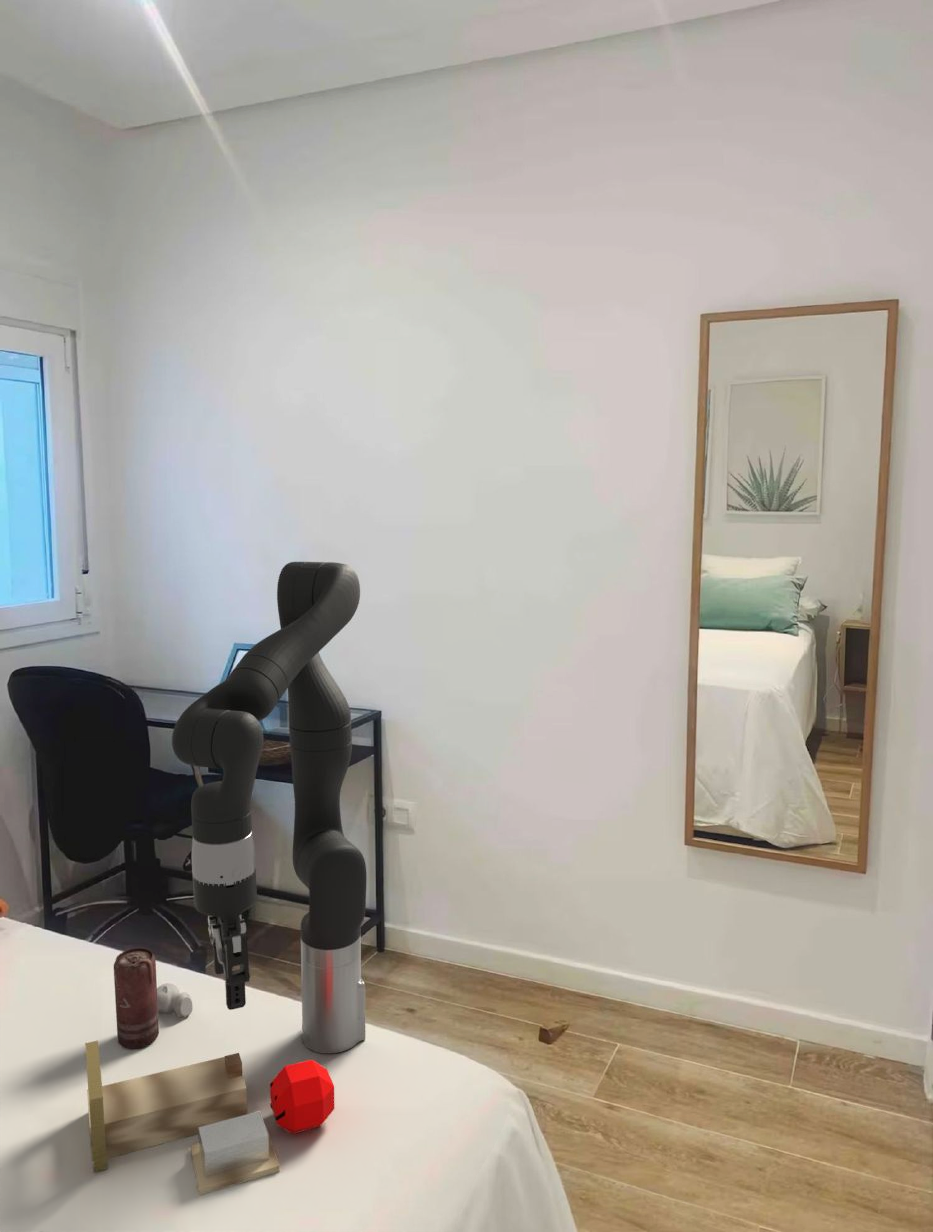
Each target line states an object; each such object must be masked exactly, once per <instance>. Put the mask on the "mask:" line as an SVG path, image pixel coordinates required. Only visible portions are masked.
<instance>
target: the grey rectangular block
mask: <svg viewBox="0 0 933 1232" xmlns="http://www.w3.org/2000/svg"><path fill="white" fill-rule="evenodd" d="M265 1126H266V1125H265V1122H264V1119H263V1115H262V1113H261V1110H258V1111H257V1110H256V1111H253V1112H250V1113H247V1114H246V1115H243V1116H239V1117H235V1118H232V1119H228V1120H224V1121H221V1122H217V1123H213V1124H210V1125H206V1126H202V1127H198V1129H199V1134H198V1144H199V1152H200V1156H201V1160H202V1165H203V1169H204V1173H205V1178H207V1177H211V1176H214V1175H218V1174H221V1173H224V1172H228V1171H231V1170H235V1169H238V1168H241V1167H245V1166H248V1165H252V1164H255V1163H259V1162H262V1161H265V1160H269V1142H268V1133H267V1130H266V1127H265Z"/></svg>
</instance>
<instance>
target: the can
mask: <svg viewBox="0 0 933 1232" xmlns="http://www.w3.org/2000/svg"><path fill="white" fill-rule="evenodd" d="M156 962H157V960H156V957H155V955H154V954H153V951H151V950H150V949H148V948H145V947H136V948H131V949H127V950H125V951H122V952H121V953H119V954H118V955H117V956H116V958H115V961H114V963H113V979H114V997H115V1017H116V1018H115V1019H116V1032H117V1034H116V1035H117V1042H118V1044H119V1045H120V1046H121V1047H122V1048H124V1049H126V1050H133V1051H134V1050H139V1049H140V1050H141V1049H144V1048H146V1047H149V1046H150V1045H152V1044H153V1043H154V1042H155V1041H156V1040H157V1038H158V1036H159V1033H160V1026H159V1024H160V1023H159V1013H158V1002H157V988H158V986H157V985H158V983H157V967H156V966H157V963H156Z"/></svg>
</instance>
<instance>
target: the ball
mask: <svg viewBox="0 0 933 1232" xmlns="http://www.w3.org/2000/svg"><path fill="white" fill-rule="evenodd" d="M269 1095H270V1096H269V1099H270V1104H269V1105H270V1109H271V1111H272V1114H273V1116H274V1119H275V1124H276V1125H277V1126H279V1127H280V1128H282V1129H283V1130H285V1131H286V1132H288V1133H290V1134H292V1135H293V1134H296V1133H300V1132H304V1131H308V1130H312V1129H315V1128H319V1127H321V1126H322V1125H323V1124H324V1122H325V1121H326V1120H327V1119H328V1117H329V1116H330V1115H331V1114H332V1112H333V1111H334V1110H335V1084H334V1082H333V1080H332V1078H331V1075H330V1073H329V1071H328V1069H327V1068H325V1067H324V1066H323V1065H321V1064H320V1063H318V1062H317V1061H315V1060H314V1059H309V1060H304V1061H300V1062H296V1063H292V1064H288V1065H284V1066H283V1068H281V1070H280V1071H279V1072H278V1073H277V1075H275V1077H274V1078H273V1079H272V1080H271V1082H270V1083H269Z"/></svg>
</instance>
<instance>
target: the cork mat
mask: <svg viewBox="0 0 933 1232" xmlns="http://www.w3.org/2000/svg"><path fill="white" fill-rule="evenodd" d="M265 1127H266V1130H267V1133H268V1142H269V1160H265V1161H262V1162H259V1163H255V1164H252V1165H248V1166H245V1167H241V1168H238V1169H235V1170H231V1171H228V1172H224V1173H221V1174H218V1175H214V1176H211V1177H207V1178H205V1173H204V1169H203V1165H202V1160H201V1156H200V1152H199V1143H196V1144H193V1145H190V1146H189V1147H190V1156H191V1161H192V1165H193V1166H192V1167H193V1170H194V1175H195V1180H196V1184H197V1190H198V1195H200V1196H201V1195H204V1194H208V1193H211V1192H214V1191H216V1190H220V1189H224V1188H227V1187H231V1186H235V1185H237V1184H240V1183H244V1182H248V1181H251V1180H255V1179H257V1178H261V1177H262V1178H263V1177H265V1176H269V1175H272V1174H275V1173H278V1172H281V1171H280V1170H281V1169H280V1167H281V1166H280V1163H279V1159H278V1157H277V1154H276V1150H275V1148H274V1145H273V1142H272V1139H271V1136H270V1133H269V1130H268V1126H267V1125H265Z"/></svg>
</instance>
